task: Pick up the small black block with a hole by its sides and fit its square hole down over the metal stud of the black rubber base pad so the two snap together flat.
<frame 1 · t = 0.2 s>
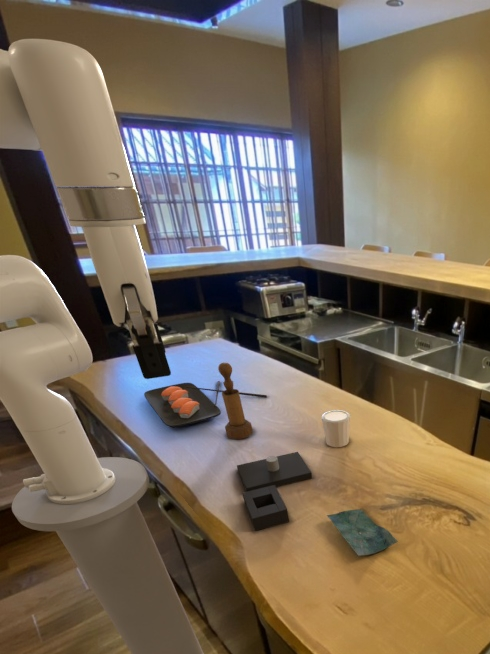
hand: (155, 365, 57), 32 cm above the counter, tool pointing down, fingers open, 9 cm apart
base pad: (274, 474, 94), on the counter
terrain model: (361, 535, 78), on the counter
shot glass: (337, 442, 106), on the counter
black block with hole: (266, 513, 83), on the counter
sushi plate: (209, 402, 124), on the counter
wooden pepper mill: (240, 434, 109), on the counter
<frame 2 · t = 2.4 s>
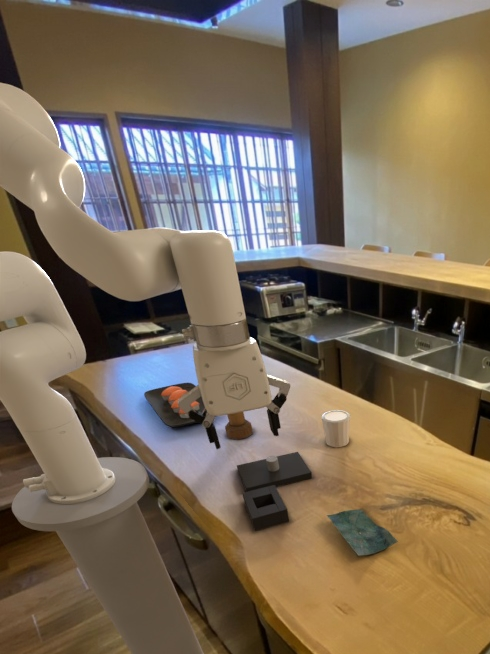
hand: (246, 439, 72), 17 cm above the counter, tool pointing down, fingers open, 9 cm apart
nothing on the counter moved.
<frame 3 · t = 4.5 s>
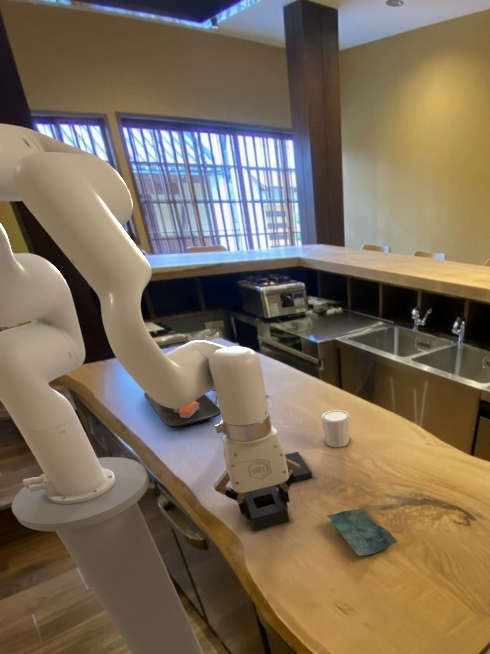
hand: (265, 509, 82), 1 cm above the counter, tool pointing down, fingers closed on black block with hole, 6 cm apart
black block with hole: (266, 513, 83), on the counter, touching gripper
everything else where it was.
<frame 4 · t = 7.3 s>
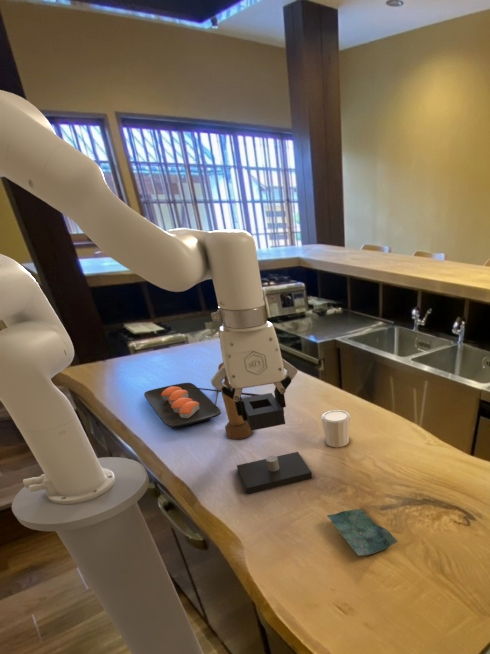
hand: (262, 413, 83), 15 cm above the counter, tool pointing down, fingers closed on black block with hole, 6 cm apart
black block with hole: (263, 418, 84), point 14 cm above the counter, touching gripper
everything else where it was.
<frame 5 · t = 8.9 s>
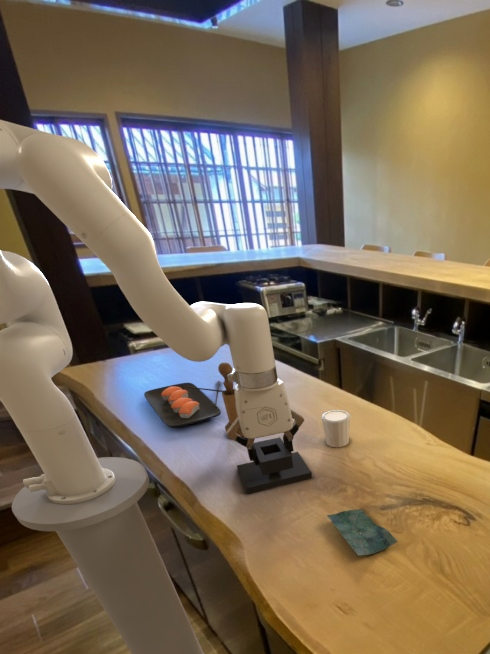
hand: (272, 457, 91), 4 cm above the counter, tool pointing down, fingers closed on black block with hole, 6 cm apart
black block with hole: (273, 461, 92), point 3 cm above the counter, touching gripper
everything else where it was.
when the fingers open (2 cm above the counter, at t = 10.0 s): black block with hole stays where it is, resting on base pad.
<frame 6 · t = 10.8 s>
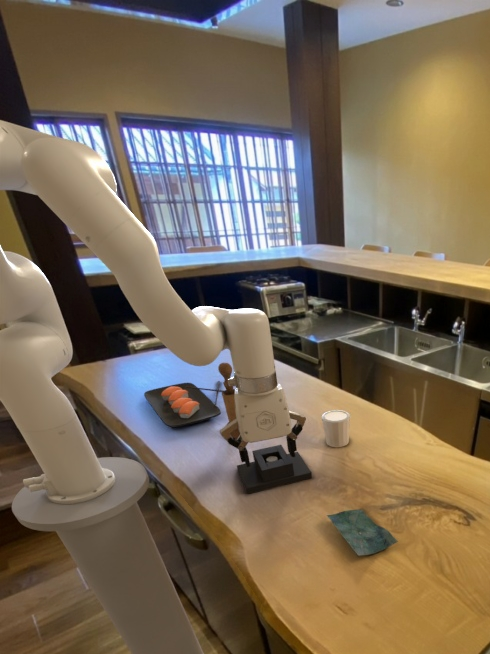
hand: (269, 459, 91), 4 cm above the counter, tool pointing down, fingers open, 9 cm apart
black block with hole: (274, 468, 93), point 1 cm above the counter, touching base pad
everything else where it was.
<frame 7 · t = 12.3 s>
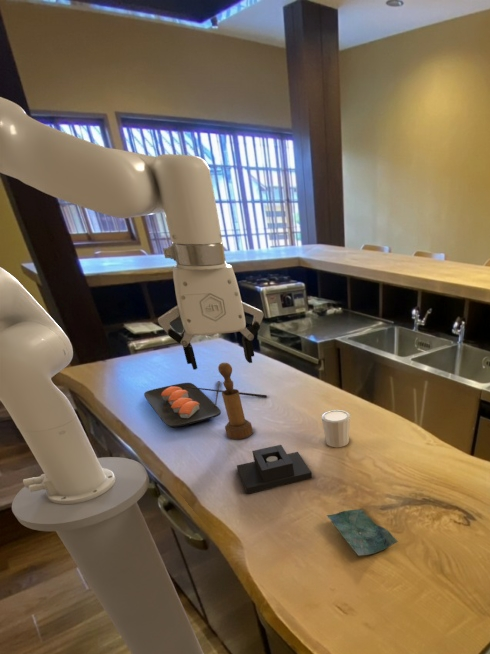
hand: (222, 363, 78), 25 cm above the counter, tool pointing down, fingers open, 9 cm apart
nothing on the counter moved.
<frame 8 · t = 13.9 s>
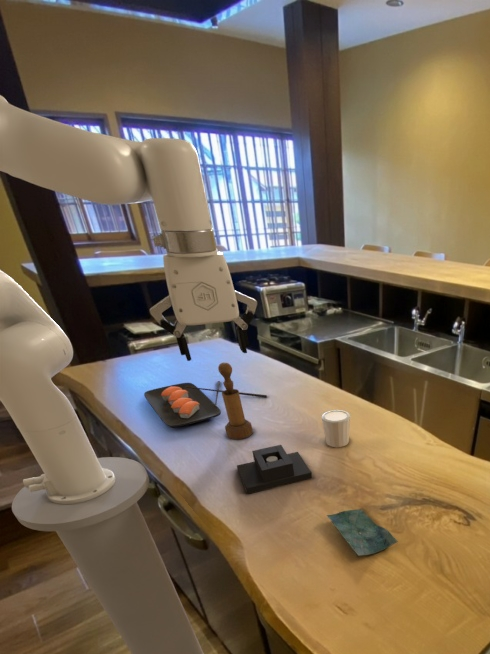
hand: (216, 354, 77), 26 cm above the counter, tool pointing down, fingers open, 9 cm apart
nothing on the counter moved.
at the end: black block with hole 0.1 cm off-centre on the base pad, point 1.5 cm above the base pad's base; black block with hole tilted 0°; the gripper is holding nothing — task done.
